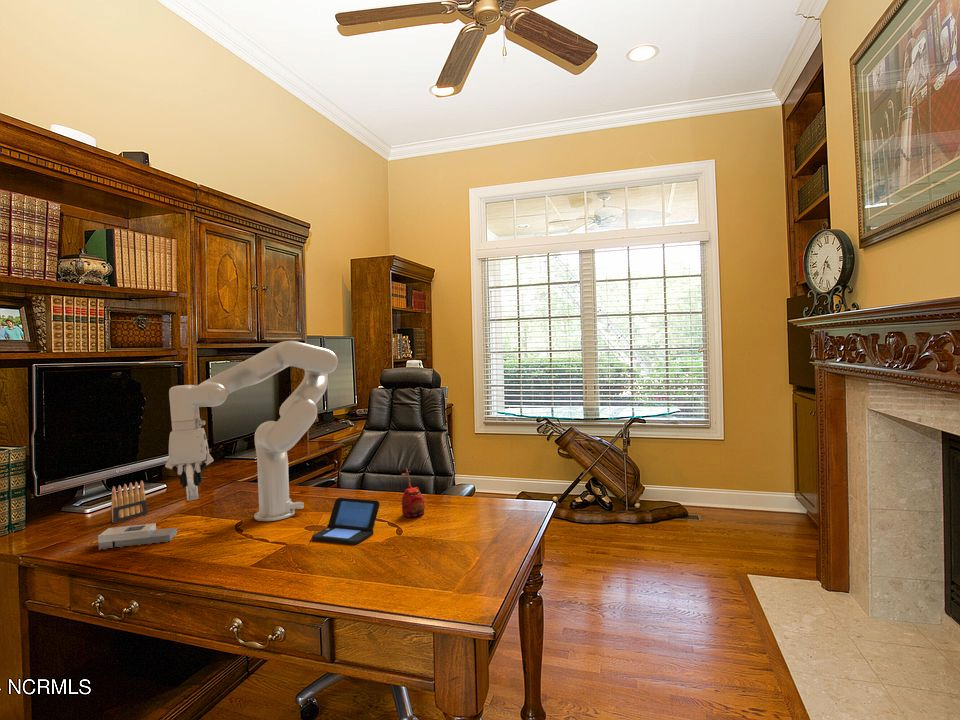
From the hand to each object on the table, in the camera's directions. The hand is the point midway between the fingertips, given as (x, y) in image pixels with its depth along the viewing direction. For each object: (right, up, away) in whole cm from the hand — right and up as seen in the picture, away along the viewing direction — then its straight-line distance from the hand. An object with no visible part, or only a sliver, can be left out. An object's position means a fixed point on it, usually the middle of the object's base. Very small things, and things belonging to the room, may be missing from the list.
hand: (191, 485), depth 159 cm
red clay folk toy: (+66, -13, +11) cm, 68 cm away
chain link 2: (-10, -15, -5) cm, 19 cm away
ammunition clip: (-31, -16, +18) cm, 39 cm away
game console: (+49, -14, -6) cm, 51 cm away
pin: (0, -4, 0) cm, 4 cm away
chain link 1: (-15, -15, -6) cm, 22 cm away
